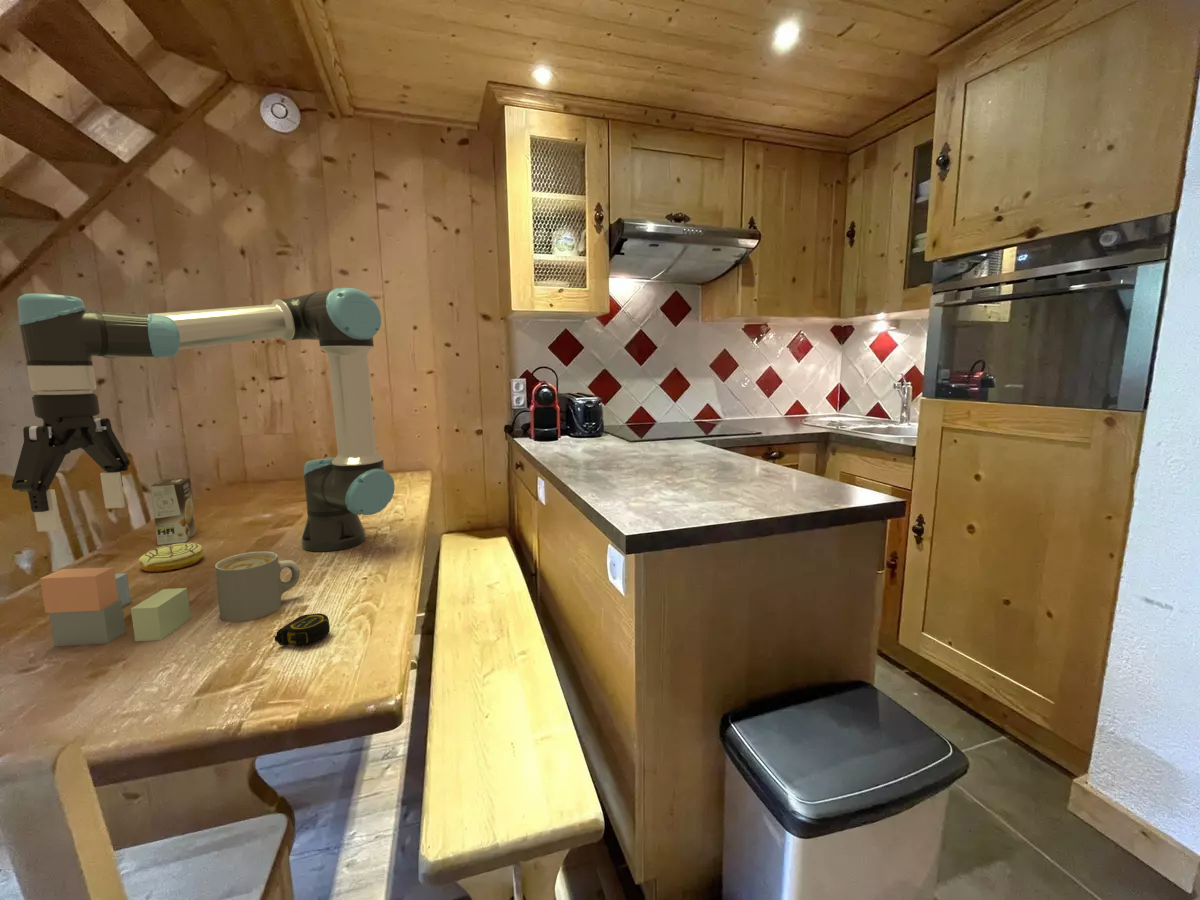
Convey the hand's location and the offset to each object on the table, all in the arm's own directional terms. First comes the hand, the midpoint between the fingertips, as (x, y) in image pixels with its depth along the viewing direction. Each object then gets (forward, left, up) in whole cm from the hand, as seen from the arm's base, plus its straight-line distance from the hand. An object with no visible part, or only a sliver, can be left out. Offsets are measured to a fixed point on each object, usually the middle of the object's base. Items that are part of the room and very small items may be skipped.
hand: (84, 518), depth 88 cm
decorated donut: (+9, -34, -21) cm, 41 cm away
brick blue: (+8, -11, -21) cm, 25 cm away
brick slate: (0, +2, -21) cm, 21 cm away
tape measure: (-36, +7, -21) cm, 42 cm away
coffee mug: (-23, -7, -21) cm, 32 cm away
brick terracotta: (0, +2, -15) cm, 15 cm away
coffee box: (+20, -54, -21) cm, 61 cm away
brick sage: (-10, 0, -21) cm, 23 cm away
